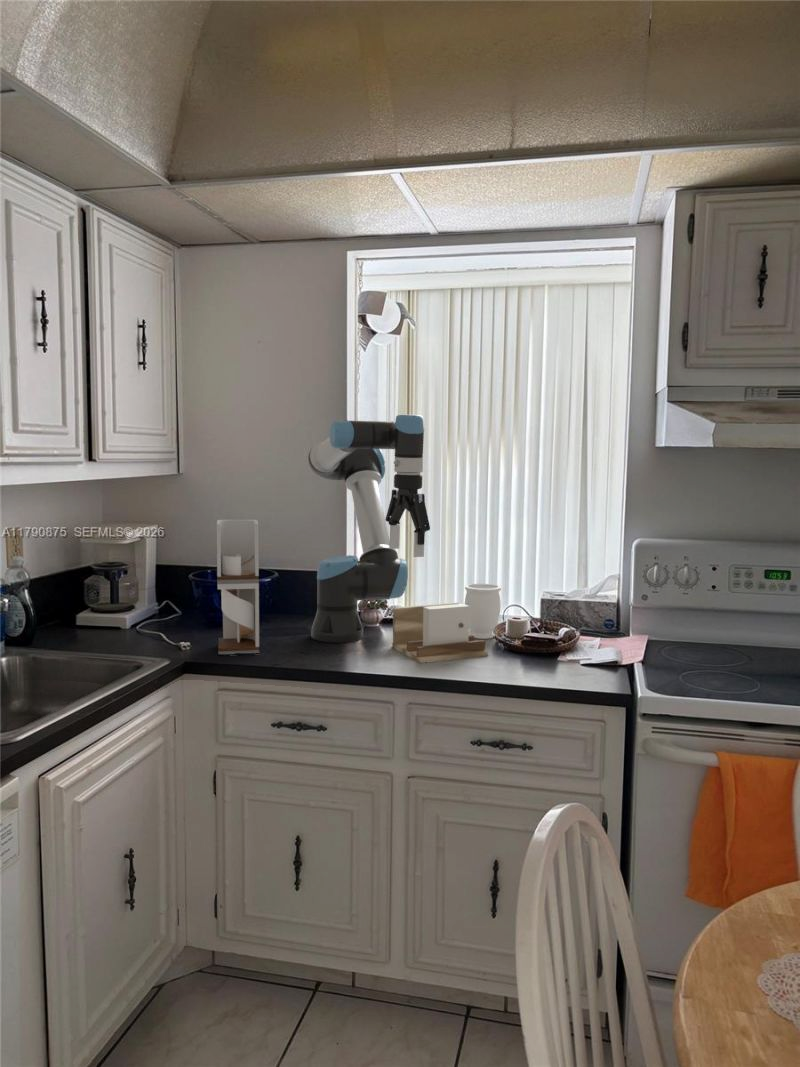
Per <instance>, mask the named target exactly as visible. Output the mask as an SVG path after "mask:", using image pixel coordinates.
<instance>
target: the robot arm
mask: <svg viewBox="0 0 800 1067" xmlns="http://www.w3.org/2000/svg"><path fill="white" fill-rule="evenodd" d="M424 420H425V419H424V417H423V416H422V415H419V414H397V415H396V416H395V421H394V420H391V421H383V420H382V421H378V420H374V421H373V420H372V421H371V420H368V421H367V420H347V419H342V420H334V421H332V422H331V425H330V427H329V428H330V429H329V437H327V439H325V440H324V441H320V442H318V443H316V444H314V445H313V446H312V447H311V448H310V450H309V452H308V454H307V455H308V456H307V461H308V466H309V468H310V469H311V470H312V472H314V473H315V475H317V476H319V477H321V478H323V479H325V480H328V481H344V484H345V487H346V489H348V490H349V491H351V495H352V501H353V506H354V511H355V512H354V513H355V517H356V523H357V527H358V533H359V539H360V544H361V548H362V554H361V555H360V557H359V559H358V556H356V555H338V556H331V557H327V558H325V559H323V560H321V561H320V562H319V563H318V565H317V573H316V579H317V580H316V581H317V582H316V584H317V585H316V586H317V589H316V590H317V592H316V593H317V594H316V595H317V596H316V598H317V599H316V600H317V602H316V604H317V606H316V607H317V609H316V610H317V611H316V613H315V617H314V620H313V623H312V626H311V631H310V635H311V636H310V637H311V638H312V639H313V640H315V641H318V642H324V643H349V642H354V641H355V642H356V641H358V640H361V639H362V638H363V637H364V627H363V625H362V621H361V618H360V615H359V611H358V601H369V600H371V601H372V600H374V601H375V600H376V601H377V600H391V599H399V598H401V597H402V596H403V595H404V593H405V592H406V589H407V585H408V576H409V568H408V563H407V561H406V560H405V559H404V558H399V556H398V552H397V550H396V549H400V538H401V537H400V535H401V534H400V533H401V529H400V528H401V521H400V520H401V518H402V517H403V515H404V513H405V510H407V512H408V513H409V515H410V517H411V520H412V523H413V526H414V531H413V557H414V558H423V557H424V556H425V541H426V540H425V537H426V532H427V531H431V526H430V522H429V521H430V520H429V516H428V511H427V507H426V500H425V494H424V493H418V490H420V489H422V488H423V475H422V474H421V473H423V472H424V470H423V469H424V455H423V454H424V442H425V441H424V438H425V437H424V436H425V435H424V434H425V421H424ZM382 450H394V461H393V464H394V472H395V473H394V476H393V487H394V488H395V489H392V490H391V497H390V501H389V504H388V508H387V512H386V516H385V512H384V508H383V502H382V498H381V494H380V489H379V486H380V484H381V482H382V479H383V478H384V477H385V474H386V465H385V464H386V461H385V457H384V453H383V452H382ZM387 523H388V525H389V531H388V528H387Z"/></svg>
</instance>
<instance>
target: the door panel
mask: <svg viewBox="0 0 800 1067" xmlns="http://www.w3.org/2000/svg"><path fill="white" fill-rule="evenodd" d="M468 641H469V606H468V605H465V603H459V604H453V605H441V606H428V607H423V646H429V645H439V644H449V643H458V642H468Z"/></svg>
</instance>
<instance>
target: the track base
mask: <svg viewBox="0 0 800 1067" xmlns="http://www.w3.org/2000/svg"><path fill="white" fill-rule="evenodd" d="M453 604H460V603H459V602H448V603H436V604H435V603H434V604H425V605H423V604H421V605H411V606H410V605H408V606H397V607H392V642H391V643H392V644H391V645H392V646H391V647H392V648H394V649H395V650H397V651H398V652H400V653H402V654H404V655H405V654H406V656H407V657H409V658H410V659H412V660H414V661H416V662H418V663H420V664H426V663H425V662H427V663H434V662H435V661H436V662H443V661H442V660H445V661H451V659H454V660H460V659H461V660H462V659H469V658H479V657H487V656H488V653H489V651H488V650H486V640H485V639H477V640H475V638H474V636H473V635H469V641H468V642H458V643H449V644H439V645H429V646H423V607H428V606H441V605H453Z"/></svg>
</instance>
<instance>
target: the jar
mask: <svg viewBox="0 0 800 1067" xmlns="http://www.w3.org/2000/svg"><path fill="white" fill-rule="evenodd" d="M464 590H465V591H466V594H465V598H464V604H465V605H468V606H469V635H473V636H474V639H477V640H487V639H488V640H491V639H494V638H493V636H492V631H493V629H494V628H495V626H497V627H498V624H499V620H500V615H501V606H502V605H501V604H502V603H501V596H500V592H501V590H502V586H500V585H497V584H491V583H470V584H466V585H465V587H464Z"/></svg>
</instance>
